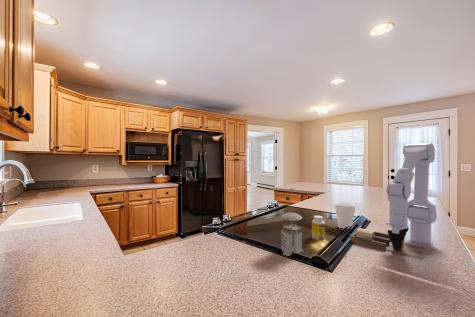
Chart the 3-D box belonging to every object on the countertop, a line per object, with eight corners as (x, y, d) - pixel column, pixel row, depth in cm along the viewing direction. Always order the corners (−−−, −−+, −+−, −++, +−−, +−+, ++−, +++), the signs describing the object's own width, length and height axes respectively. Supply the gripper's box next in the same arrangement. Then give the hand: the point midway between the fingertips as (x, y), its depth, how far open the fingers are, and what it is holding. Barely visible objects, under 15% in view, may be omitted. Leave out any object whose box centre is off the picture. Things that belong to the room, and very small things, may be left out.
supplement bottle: (319, 242, 94) (319, 218, 94) (309, 238, 99) (309, 216, 99) (327, 239, 97) (327, 217, 97) (316, 235, 102) (316, 214, 102)
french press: (301, 247, 88) (302, 186, 88) (308, 260, 77) (308, 190, 77) (277, 246, 89) (278, 186, 89) (280, 259, 78) (281, 190, 78)
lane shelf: (359, 234, 104) (359, 228, 104) (425, 249, 88) (425, 241, 88) (350, 243, 93) (350, 235, 93) (422, 261, 77) (422, 252, 77)
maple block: (359, 239, 96) (359, 228, 96) (403, 249, 85) (403, 237, 85) (356, 241, 93) (356, 230, 93) (402, 253, 82) (402, 240, 82)
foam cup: (331, 227, 115) (331, 203, 115) (343, 225, 119) (343, 202, 119) (346, 233, 106) (346, 206, 106) (359, 230, 110) (359, 205, 110)
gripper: (389, 208, 93) (389, 239, 93) (382, 214, 82) (382, 249, 82) (410, 211, 88) (410, 244, 88) (405, 218, 78) (405, 255, 77)
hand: (398, 247), depth 85 cm, fingers open, 6 cm apart
